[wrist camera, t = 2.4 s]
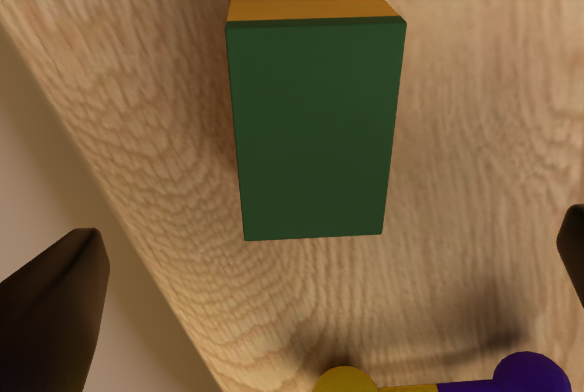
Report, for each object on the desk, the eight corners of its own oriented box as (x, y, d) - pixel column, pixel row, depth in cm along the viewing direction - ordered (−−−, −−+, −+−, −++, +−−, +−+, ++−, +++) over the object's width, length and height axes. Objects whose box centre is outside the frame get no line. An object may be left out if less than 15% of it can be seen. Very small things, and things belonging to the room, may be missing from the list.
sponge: (378, -8, 13) (407, 22, 10) (363, 179, 16) (382, 234, 14) (230, -3, 13) (224, 28, 10) (246, 185, 16) (244, 242, 14)
